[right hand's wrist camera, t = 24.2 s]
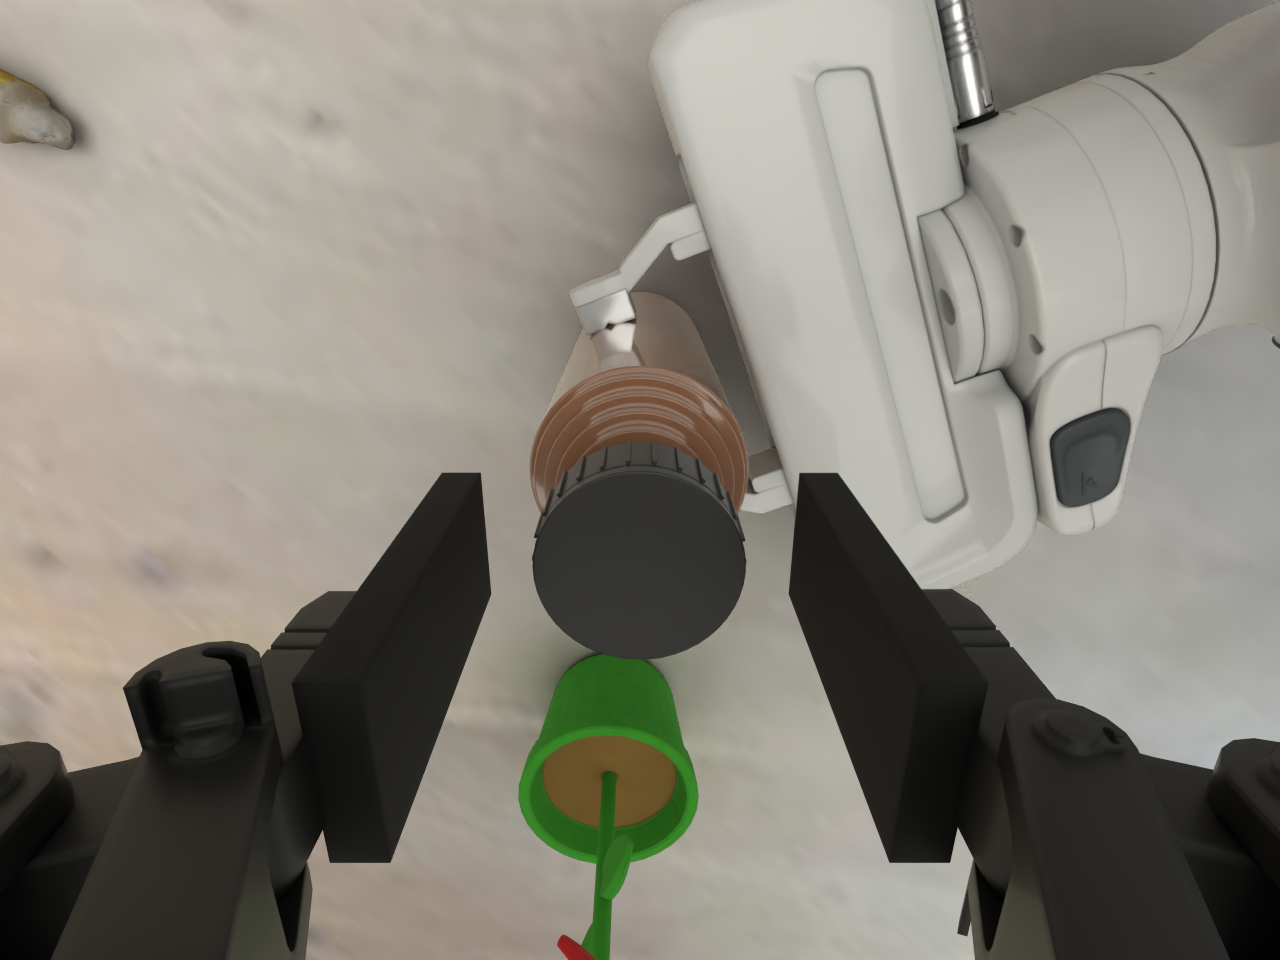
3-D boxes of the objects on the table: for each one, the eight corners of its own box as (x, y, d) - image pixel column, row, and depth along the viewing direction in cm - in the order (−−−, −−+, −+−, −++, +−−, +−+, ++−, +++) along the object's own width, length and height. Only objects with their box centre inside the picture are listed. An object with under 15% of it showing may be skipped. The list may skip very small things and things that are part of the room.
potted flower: (571, 608, 35) (439, 1398, 12) (716, 657, 36) (853, 1472, 13) (512, 749, 39) (317, 1590, 15) (647, 791, 40) (658, 1636, 16)
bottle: (586, 422, 32) (524, 681, 15) (568, 299, 30) (473, 434, 13) (706, 409, 32) (785, 657, 15) (696, 284, 30) (774, 401, 13)
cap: (556, 624, 15) (547, 671, 14) (526, 448, 14) (512, 479, 12) (742, 608, 15) (753, 653, 14) (731, 428, 14) (743, 457, 12)
